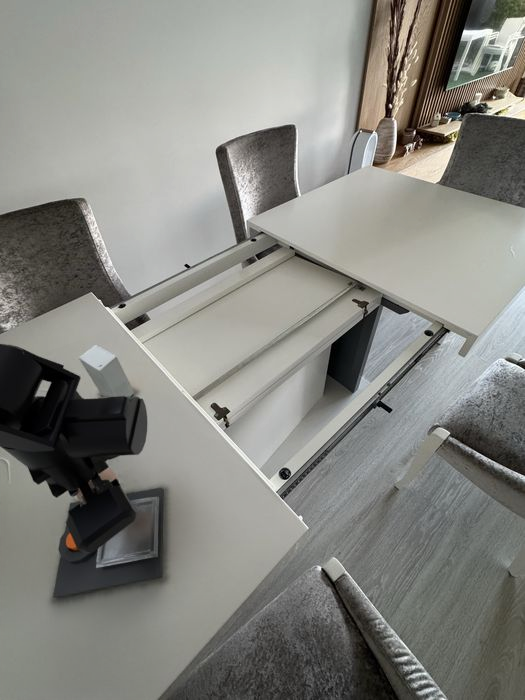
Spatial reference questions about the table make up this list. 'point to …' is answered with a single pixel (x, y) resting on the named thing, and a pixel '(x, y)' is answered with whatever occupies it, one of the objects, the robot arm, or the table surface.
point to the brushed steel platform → (133, 537)
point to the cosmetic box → (106, 372)
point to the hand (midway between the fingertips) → (102, 493)
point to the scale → (84, 576)
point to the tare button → (70, 542)
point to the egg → (104, 475)
